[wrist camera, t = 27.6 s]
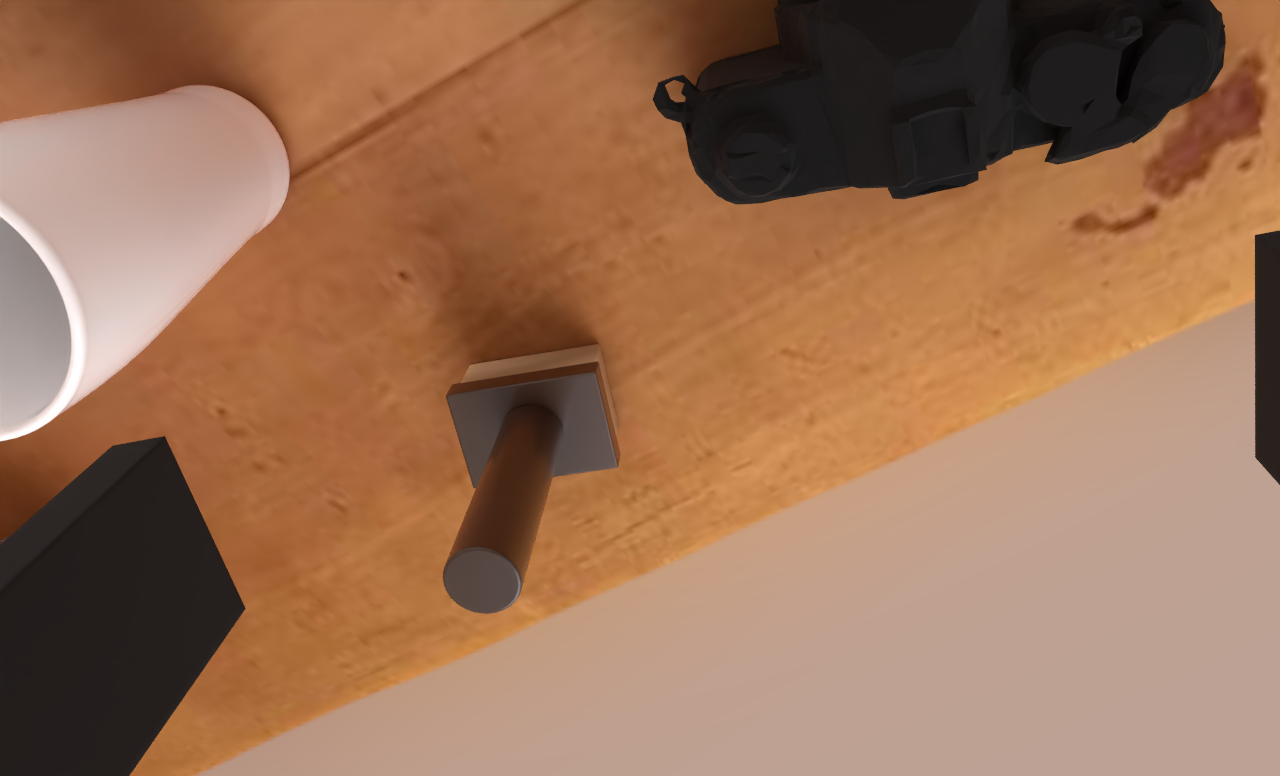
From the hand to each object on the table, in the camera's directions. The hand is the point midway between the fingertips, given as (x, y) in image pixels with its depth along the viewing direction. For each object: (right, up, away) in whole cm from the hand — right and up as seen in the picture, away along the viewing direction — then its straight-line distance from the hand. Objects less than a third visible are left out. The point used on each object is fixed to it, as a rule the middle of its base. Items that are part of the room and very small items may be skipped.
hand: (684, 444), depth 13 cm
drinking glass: (-15, +9, +24) cm, 30 cm away
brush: (-4, 0, +27) cm, 28 cm away
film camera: (+7, +13, +21) cm, 26 cm away
